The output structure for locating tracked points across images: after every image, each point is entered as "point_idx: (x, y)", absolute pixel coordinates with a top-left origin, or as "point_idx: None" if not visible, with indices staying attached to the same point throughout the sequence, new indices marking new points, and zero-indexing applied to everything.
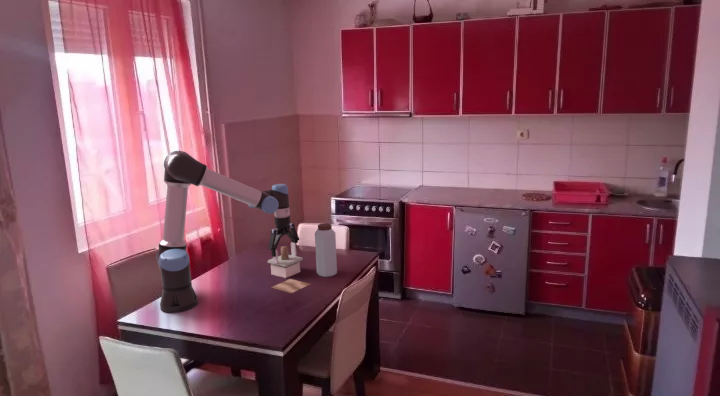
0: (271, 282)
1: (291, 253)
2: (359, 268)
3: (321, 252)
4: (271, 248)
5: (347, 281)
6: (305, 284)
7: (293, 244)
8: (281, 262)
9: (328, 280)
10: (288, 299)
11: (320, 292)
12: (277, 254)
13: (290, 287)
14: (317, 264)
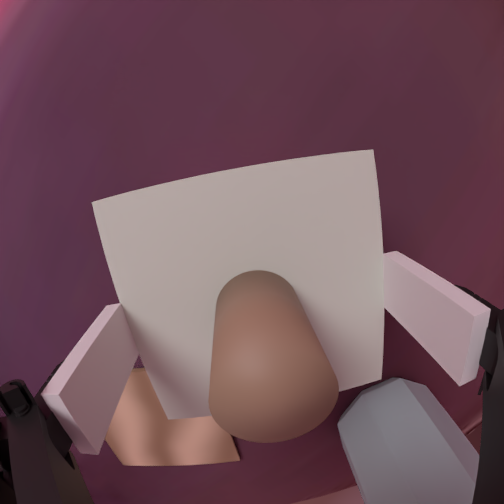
0: (98, 312)
1: (392, 259)
2: (476, 408)
3: None
4: (8, 470)
5: (354, 482)
6: (218, 453)
7: (454, 356)
8: (168, 366)
9: (326, 456)
10: (100, 473)
11: (219, 500)
12: (112, 411)
13: (144, 436)
14: (359, 455)
